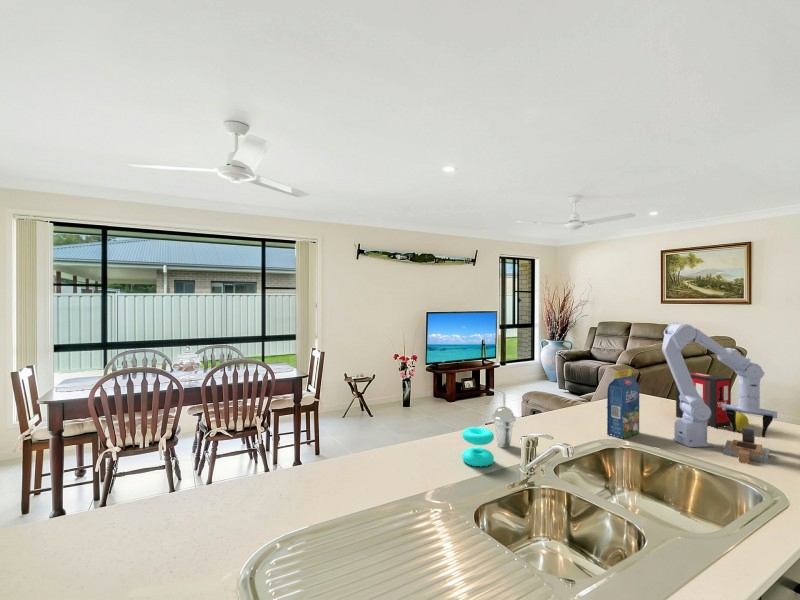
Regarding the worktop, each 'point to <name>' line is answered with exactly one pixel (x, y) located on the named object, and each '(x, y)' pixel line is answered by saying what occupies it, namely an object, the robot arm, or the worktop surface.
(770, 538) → the worktop surface
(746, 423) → the lemon
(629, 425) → the blue food package
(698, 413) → the robot arm
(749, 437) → the dark grey rectangular block
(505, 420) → the cup with straw
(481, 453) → the donuts
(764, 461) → the grey and brown socket
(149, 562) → the worktop surface
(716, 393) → the cleaning product box
